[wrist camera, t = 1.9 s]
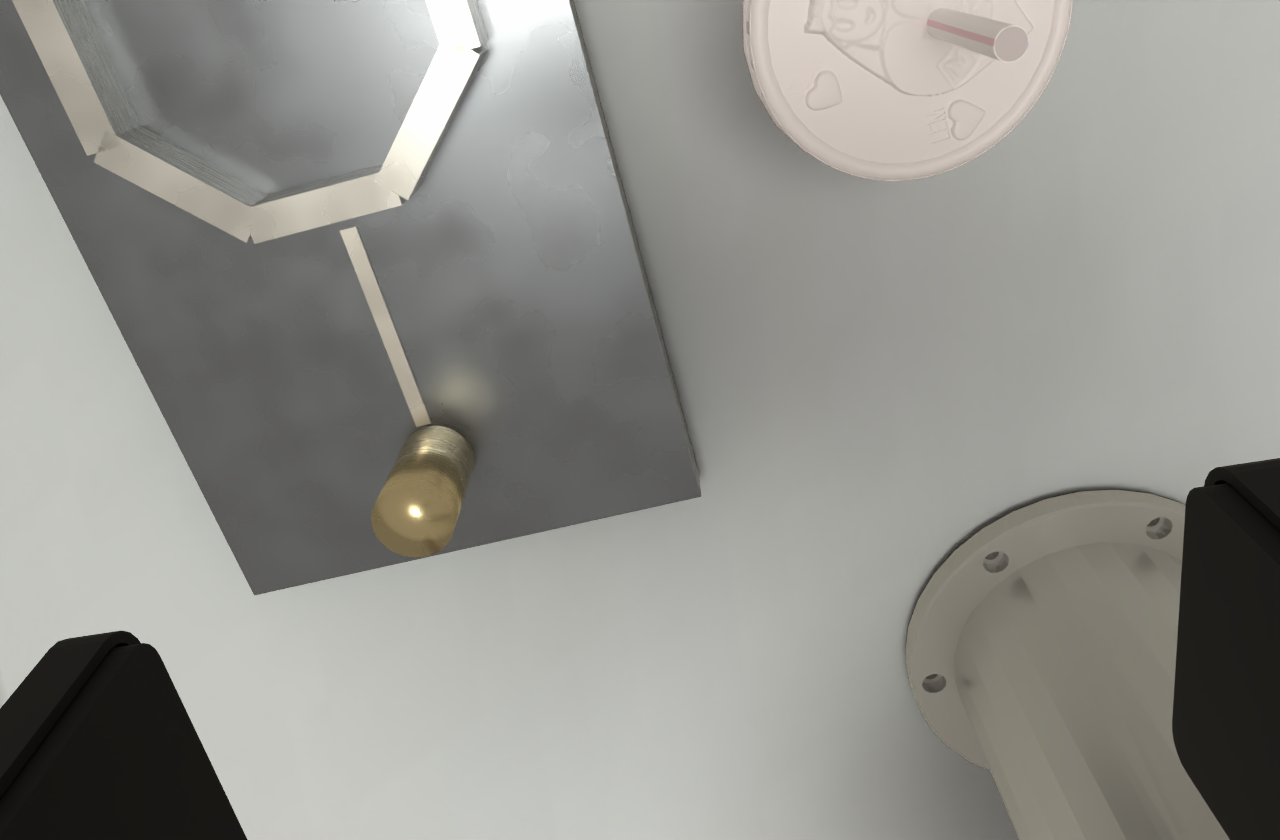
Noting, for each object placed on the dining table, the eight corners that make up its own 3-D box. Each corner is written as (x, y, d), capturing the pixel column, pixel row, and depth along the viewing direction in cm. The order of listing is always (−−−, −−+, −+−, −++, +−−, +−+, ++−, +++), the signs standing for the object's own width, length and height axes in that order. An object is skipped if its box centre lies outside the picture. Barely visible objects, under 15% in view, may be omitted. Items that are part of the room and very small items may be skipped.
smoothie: (921, 120, 30) (1121, 254, 17) (704, 104, 30) (747, 228, 17) (966, -126, 27) (1243, -179, 15) (727, -146, 27) (799, -215, 14)
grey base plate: (479, -353, 25) (438, -425, 20) (698, 474, 35) (707, 563, 30) (-96, -167, 27) (-263, -190, 22) (268, 570, 37) (210, 669, 32)
